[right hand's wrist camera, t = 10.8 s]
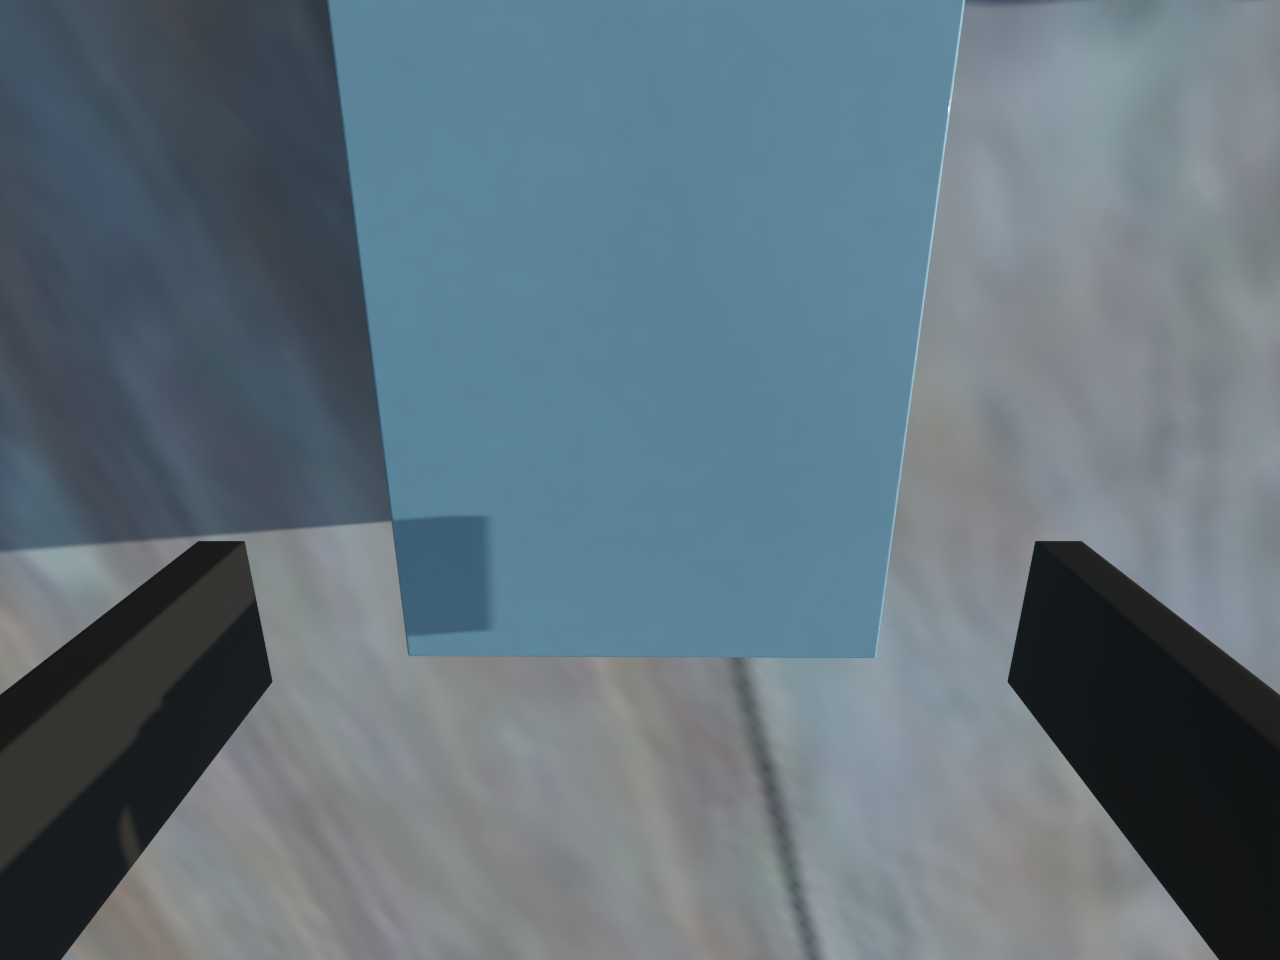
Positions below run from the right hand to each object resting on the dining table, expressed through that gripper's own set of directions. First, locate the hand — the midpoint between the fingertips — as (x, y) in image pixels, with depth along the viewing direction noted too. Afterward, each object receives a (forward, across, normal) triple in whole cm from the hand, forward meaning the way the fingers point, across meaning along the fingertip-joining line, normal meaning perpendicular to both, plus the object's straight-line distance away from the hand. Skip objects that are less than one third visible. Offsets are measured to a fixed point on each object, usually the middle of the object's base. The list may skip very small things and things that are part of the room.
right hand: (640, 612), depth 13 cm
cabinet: (+13, 0, -8) cm, 15 cm away
